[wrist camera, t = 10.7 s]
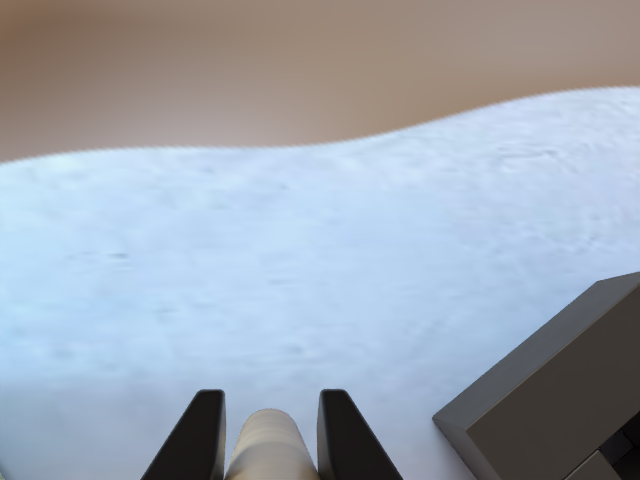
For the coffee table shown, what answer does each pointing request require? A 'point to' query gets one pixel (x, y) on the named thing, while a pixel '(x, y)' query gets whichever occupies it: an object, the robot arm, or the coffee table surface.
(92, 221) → the coffee table surface
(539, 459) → the stand
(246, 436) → the stick
